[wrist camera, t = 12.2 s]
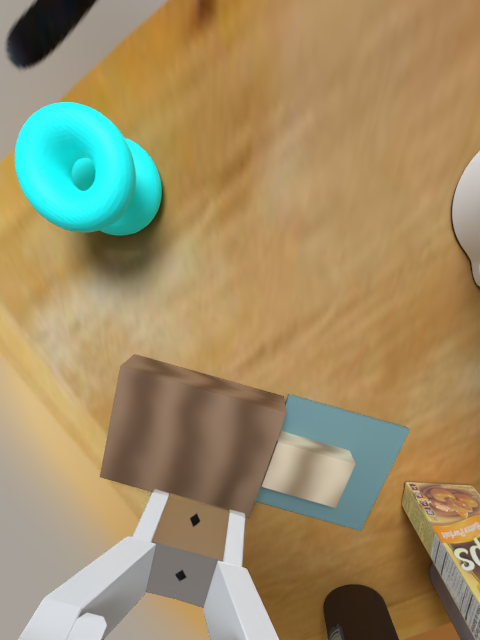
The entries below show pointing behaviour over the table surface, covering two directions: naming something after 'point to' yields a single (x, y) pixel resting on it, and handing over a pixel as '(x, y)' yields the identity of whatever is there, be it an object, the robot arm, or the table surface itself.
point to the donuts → (86, 172)
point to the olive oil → (357, 615)
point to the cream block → (308, 469)
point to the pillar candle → (449, 605)
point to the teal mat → (347, 433)
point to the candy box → (450, 539)
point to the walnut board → (191, 434)
